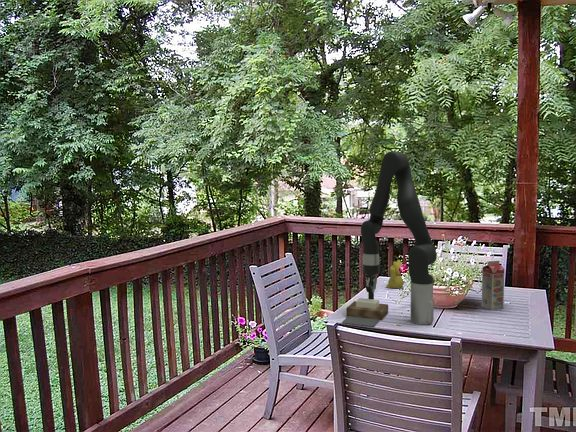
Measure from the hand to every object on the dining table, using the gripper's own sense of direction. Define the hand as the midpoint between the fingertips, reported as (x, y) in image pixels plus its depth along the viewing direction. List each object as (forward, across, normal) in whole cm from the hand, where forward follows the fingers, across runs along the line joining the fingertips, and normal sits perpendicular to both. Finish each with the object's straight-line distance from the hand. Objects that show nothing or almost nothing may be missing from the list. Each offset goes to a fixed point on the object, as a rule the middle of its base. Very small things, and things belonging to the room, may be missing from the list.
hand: (371, 300), depth 228 cm
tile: (0, -6, 0) cm, 6 cm away
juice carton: (+6, +27, -51) cm, 57 cm away
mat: (+5, -17, 0) cm, 18 cm away
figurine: (+6, +48, 0) cm, 48 cm away
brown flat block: (+5, -6, 0) cm, 8 cm away
